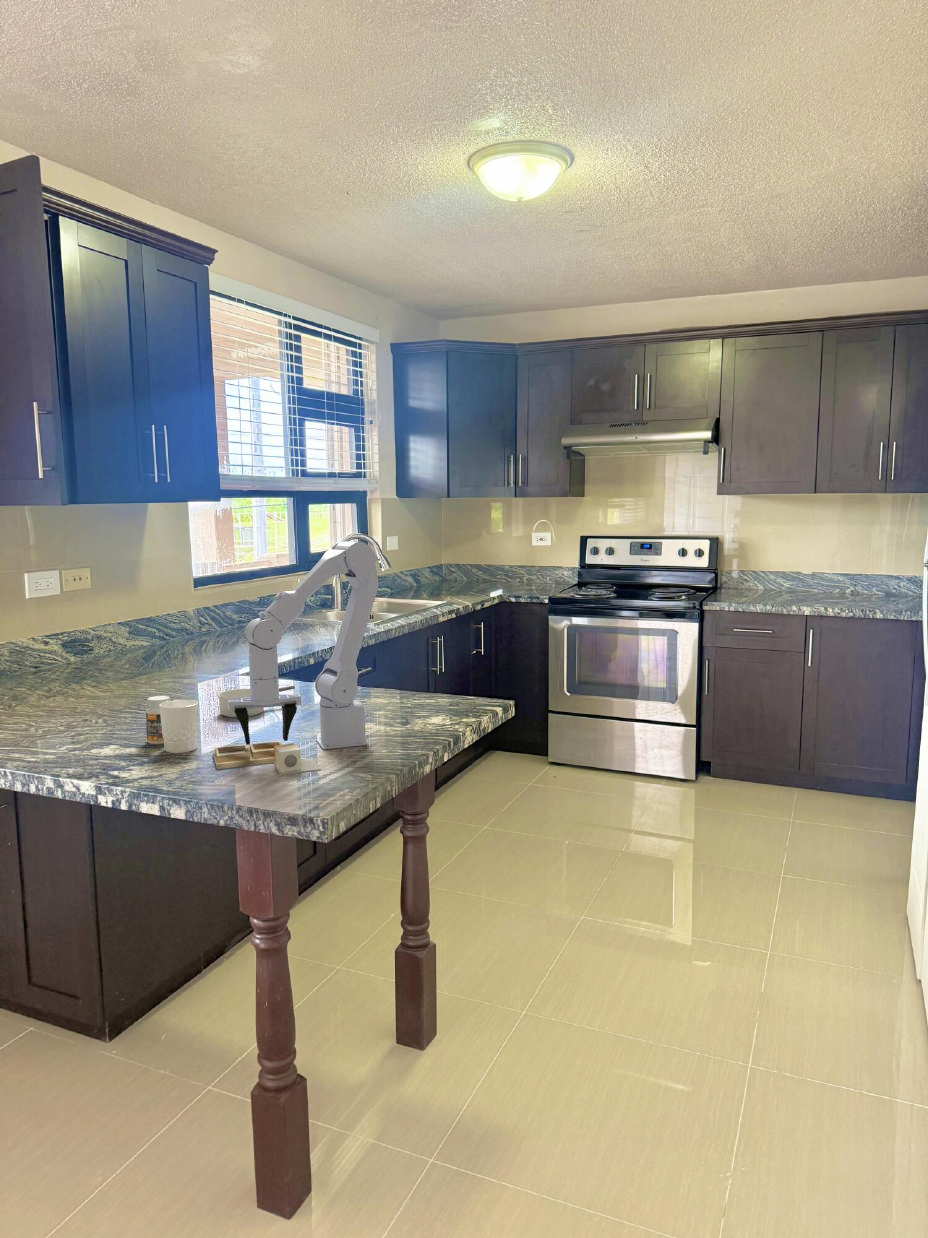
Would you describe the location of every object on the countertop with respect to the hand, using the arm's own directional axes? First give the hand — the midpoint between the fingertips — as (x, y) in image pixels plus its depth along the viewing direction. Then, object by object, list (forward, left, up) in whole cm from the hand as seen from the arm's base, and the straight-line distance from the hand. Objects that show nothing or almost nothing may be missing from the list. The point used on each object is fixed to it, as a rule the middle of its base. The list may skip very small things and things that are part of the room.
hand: (266, 741), depth 174 cm
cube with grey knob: (-2, +8, -1) cm, 8 cm away
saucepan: (-3, -41, -3) cm, 42 cm away
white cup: (+16, -13, -3) cm, 21 cm away
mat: (-4, +10, -3) cm, 11 cm away
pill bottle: (+20, -21, -3) cm, 30 cm away
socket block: (+4, 0, -3) cm, 5 cm away
